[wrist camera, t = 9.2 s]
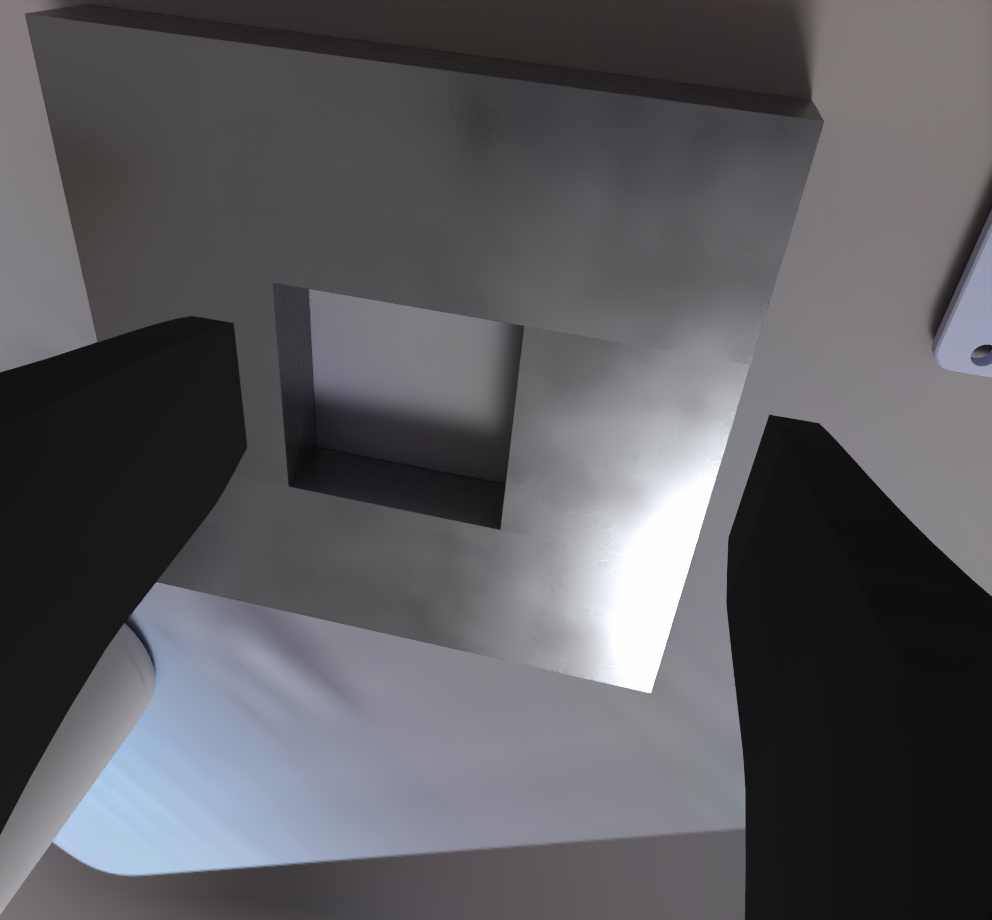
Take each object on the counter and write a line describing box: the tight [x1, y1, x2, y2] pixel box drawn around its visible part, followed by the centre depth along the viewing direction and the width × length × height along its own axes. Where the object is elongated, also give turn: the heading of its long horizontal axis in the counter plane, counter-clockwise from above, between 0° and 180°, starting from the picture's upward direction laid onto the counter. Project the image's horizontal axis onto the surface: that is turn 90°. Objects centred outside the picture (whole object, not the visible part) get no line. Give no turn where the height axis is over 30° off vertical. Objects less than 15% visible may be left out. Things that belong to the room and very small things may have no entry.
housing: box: [25, 4, 824, 693], centre depth 21 cm, size 16×16×2 cm
